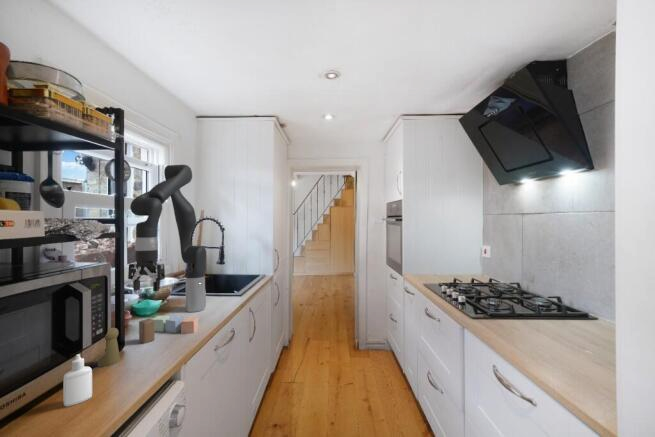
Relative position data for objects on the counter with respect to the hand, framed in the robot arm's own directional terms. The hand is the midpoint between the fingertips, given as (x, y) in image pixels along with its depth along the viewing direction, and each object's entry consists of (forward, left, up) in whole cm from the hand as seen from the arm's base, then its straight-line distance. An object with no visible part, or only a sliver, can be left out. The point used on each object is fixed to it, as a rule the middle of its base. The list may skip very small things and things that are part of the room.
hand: (146, 290), depth 114 cm
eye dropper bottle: (+36, +12, -20) cm, 43 cm away
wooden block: (0, 0, -20) cm, 20 cm away
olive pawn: (+17, +1, -20) cm, 26 cm away
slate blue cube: (-12, +3, -20) cm, 23 cm away
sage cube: (-12, -4, -20) cm, 23 cm away
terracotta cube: (-12, +10, -20) cm, 25 cm away
